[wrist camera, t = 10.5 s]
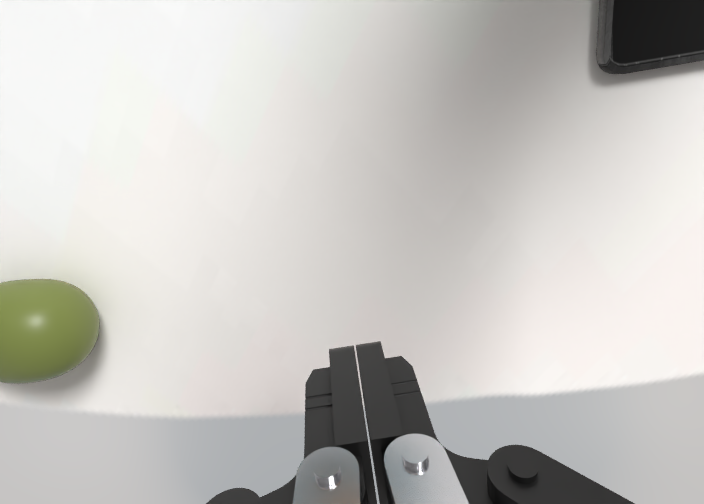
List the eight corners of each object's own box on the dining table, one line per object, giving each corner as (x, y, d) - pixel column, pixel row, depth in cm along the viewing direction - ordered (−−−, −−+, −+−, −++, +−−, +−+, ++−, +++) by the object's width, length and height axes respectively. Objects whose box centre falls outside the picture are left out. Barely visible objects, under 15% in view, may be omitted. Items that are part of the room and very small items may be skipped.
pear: (70, 405, 23) (-106, 399, 24) (127, 343, 28) (-22, 341, 29) (35, 310, 21) (-159, 308, 21) (103, 261, 25) (-58, 262, 26)
